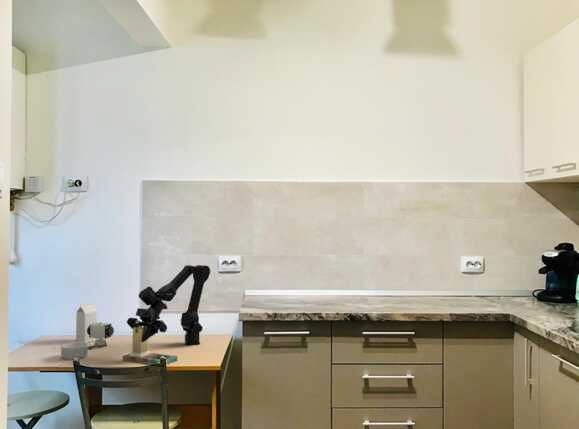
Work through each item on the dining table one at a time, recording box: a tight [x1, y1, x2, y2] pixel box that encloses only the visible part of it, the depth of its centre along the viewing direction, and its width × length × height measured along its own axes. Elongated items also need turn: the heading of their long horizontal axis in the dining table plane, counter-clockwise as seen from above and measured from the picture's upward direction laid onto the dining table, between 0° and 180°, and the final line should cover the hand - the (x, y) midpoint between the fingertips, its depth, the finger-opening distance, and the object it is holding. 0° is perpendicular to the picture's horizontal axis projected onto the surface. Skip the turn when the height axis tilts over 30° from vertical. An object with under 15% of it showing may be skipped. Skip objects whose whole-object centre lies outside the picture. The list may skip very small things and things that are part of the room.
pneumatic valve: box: [87, 321, 115, 349], centre depth 235 cm, size 6×12×12 cm, turn 79°
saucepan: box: [60, 341, 108, 361], centre depth 217 cm, size 12×20×6 cm, turn 92°
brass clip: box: [132, 326, 148, 354], centre depth 213 cm, size 4×4×11 cm
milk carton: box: [75, 302, 98, 343], centre depth 247 cm, size 7×7×19 cm
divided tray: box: [122, 350, 178, 365], centre depth 211 cm, size 22×9×3 cm, turn 67°
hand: (137, 341), depth 212 cm, fingers closed on brass clip, 4 cm apart
